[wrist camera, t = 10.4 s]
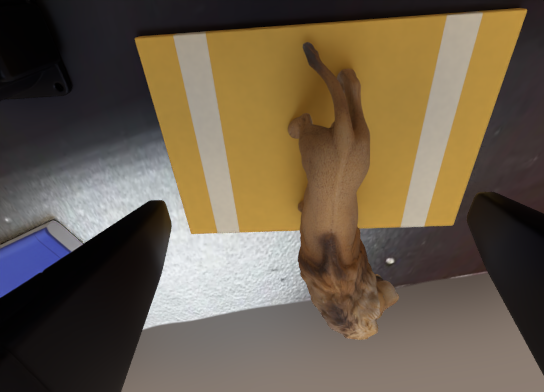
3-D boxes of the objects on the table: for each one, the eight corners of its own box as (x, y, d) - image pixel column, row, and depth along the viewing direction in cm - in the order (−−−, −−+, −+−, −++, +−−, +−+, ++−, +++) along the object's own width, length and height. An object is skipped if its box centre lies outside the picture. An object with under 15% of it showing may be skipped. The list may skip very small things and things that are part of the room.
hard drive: (23, 326, 31) (117, 293, 28) (-57, 277, 27) (41, 231, 24) (34, 313, 33) (125, 279, 29) (-42, 263, 28) (54, 217, 25)
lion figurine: (373, 234, 24) (413, 348, 17) (305, 246, 25) (315, 358, 18) (353, 27, 16) (412, 72, 9) (253, 54, 17) (231, 116, 10)
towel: (192, 229, 25) (191, 234, 25) (138, 36, 17) (133, 38, 17) (449, 220, 24) (453, 225, 23) (520, 7, 16) (528, 9, 15)
